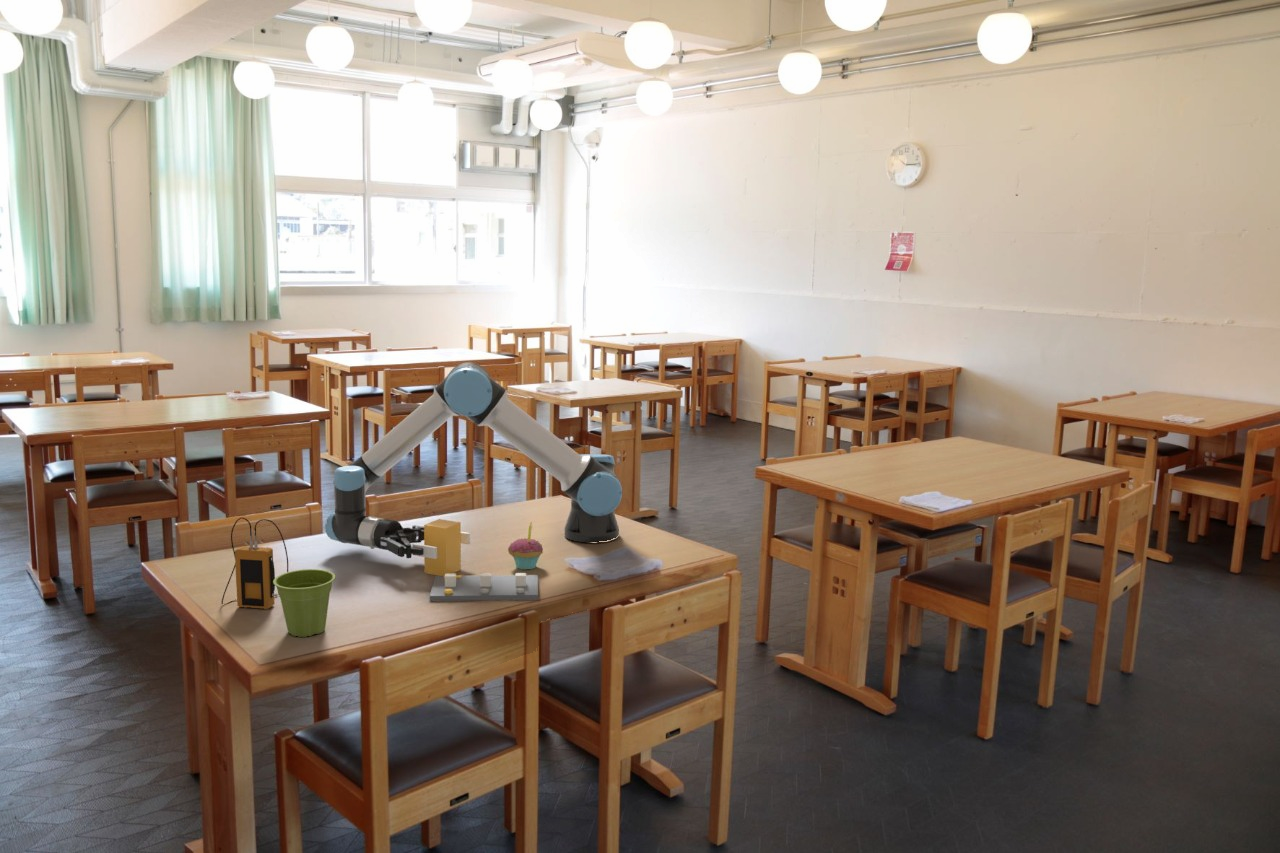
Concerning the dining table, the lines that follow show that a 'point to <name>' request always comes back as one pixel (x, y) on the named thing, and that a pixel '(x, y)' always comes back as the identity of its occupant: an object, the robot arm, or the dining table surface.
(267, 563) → the multimeter
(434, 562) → the cap
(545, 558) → the dining table surface
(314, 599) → the plant pot
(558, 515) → the dining table surface
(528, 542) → the cupcake
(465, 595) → the board
